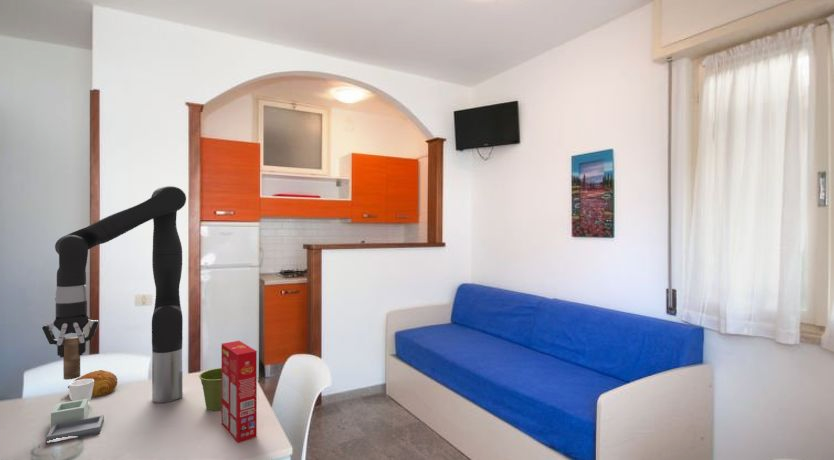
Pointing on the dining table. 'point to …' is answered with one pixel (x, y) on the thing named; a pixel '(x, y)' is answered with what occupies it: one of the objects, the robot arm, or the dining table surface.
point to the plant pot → (212, 388)
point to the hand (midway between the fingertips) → (71, 355)
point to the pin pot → (69, 411)
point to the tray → (76, 428)
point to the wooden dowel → (71, 358)
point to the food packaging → (239, 390)
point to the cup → (81, 389)
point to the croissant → (101, 382)
